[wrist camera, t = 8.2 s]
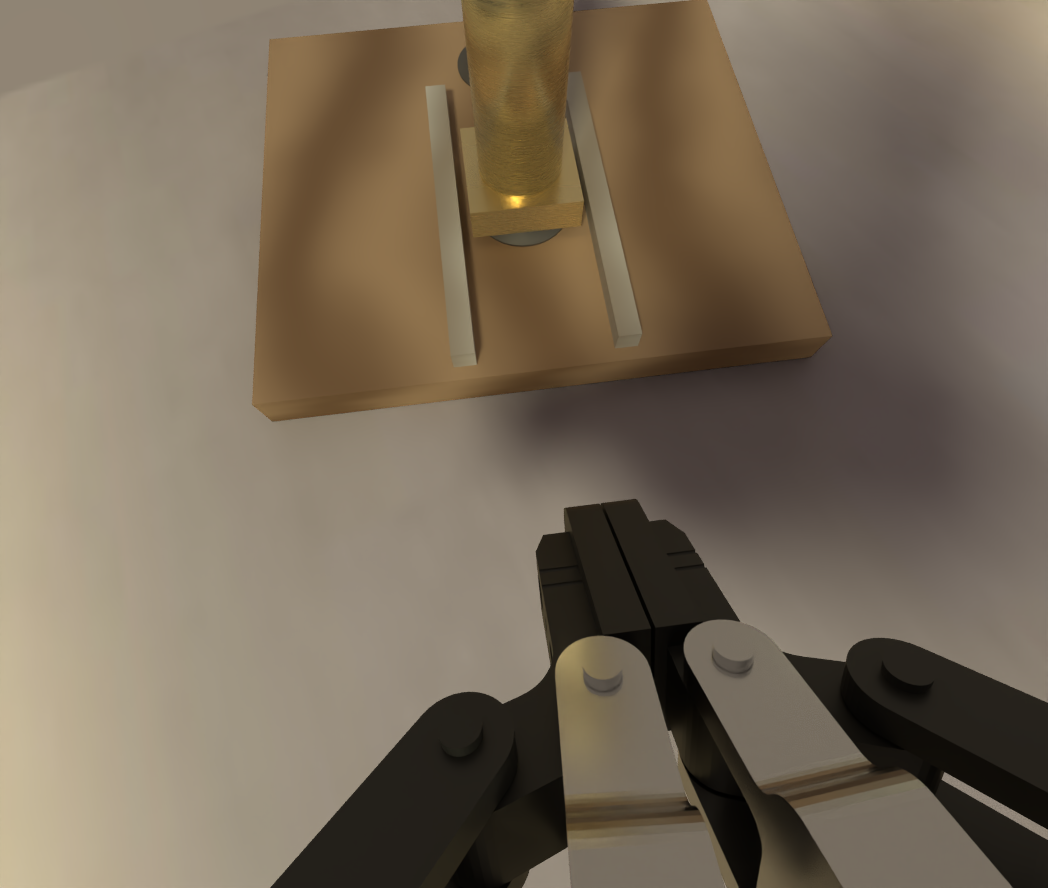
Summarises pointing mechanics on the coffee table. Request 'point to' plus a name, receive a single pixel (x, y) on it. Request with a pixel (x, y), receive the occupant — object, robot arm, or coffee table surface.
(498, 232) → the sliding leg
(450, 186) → the plate
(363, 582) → the coffee table surface
